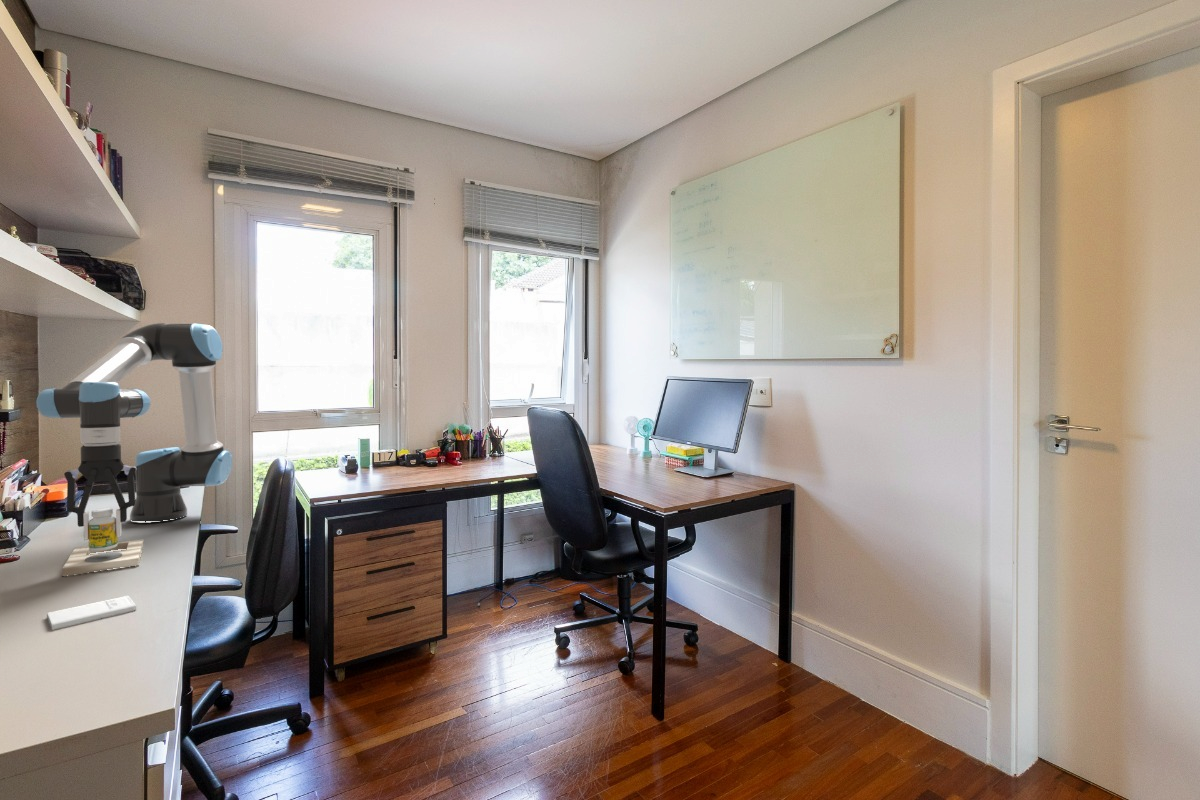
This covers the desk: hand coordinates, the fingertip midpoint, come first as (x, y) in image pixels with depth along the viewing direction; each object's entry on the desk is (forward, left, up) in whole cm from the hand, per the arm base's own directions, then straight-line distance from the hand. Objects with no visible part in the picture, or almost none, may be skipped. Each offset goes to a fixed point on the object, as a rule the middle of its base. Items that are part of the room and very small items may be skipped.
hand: (103, 536), depth 142 cm
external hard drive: (+36, +1, -8) cm, 37 cm away
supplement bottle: (0, 0, -3) cm, 3 cm away
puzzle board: (-5, 0, -7) cm, 9 cm away
